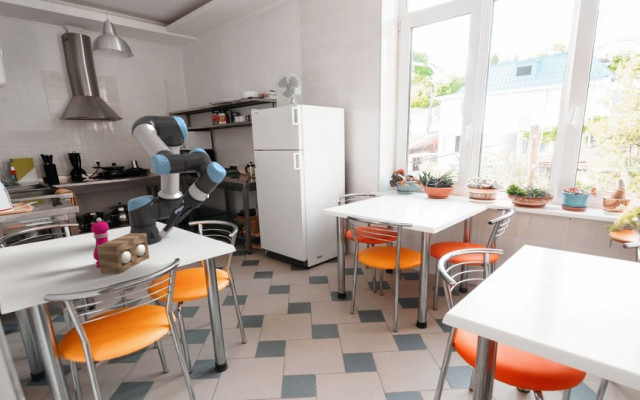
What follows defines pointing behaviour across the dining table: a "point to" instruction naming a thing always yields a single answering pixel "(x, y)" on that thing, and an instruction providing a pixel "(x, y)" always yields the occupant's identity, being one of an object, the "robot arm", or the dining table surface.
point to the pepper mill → (99, 236)
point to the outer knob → (125, 256)
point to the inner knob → (140, 249)
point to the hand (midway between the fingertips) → (161, 235)
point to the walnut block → (113, 248)
